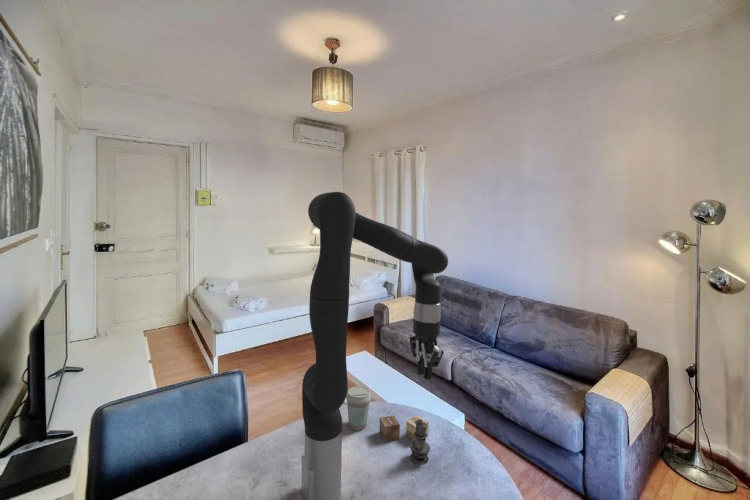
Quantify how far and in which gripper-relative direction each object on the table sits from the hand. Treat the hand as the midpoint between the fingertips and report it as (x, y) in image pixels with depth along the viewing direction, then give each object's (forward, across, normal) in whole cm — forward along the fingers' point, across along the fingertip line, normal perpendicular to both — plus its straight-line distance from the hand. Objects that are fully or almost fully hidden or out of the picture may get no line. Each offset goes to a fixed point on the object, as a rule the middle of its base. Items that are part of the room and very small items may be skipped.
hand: (424, 376), depth 98 cm
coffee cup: (+25, -22, -10) cm, 35 cm away
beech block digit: (+25, -9, +5) cm, 27 cm away
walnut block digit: (+25, -13, -3) cm, 29 cm away
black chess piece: (+25, 0, 0) cm, 25 cm away
